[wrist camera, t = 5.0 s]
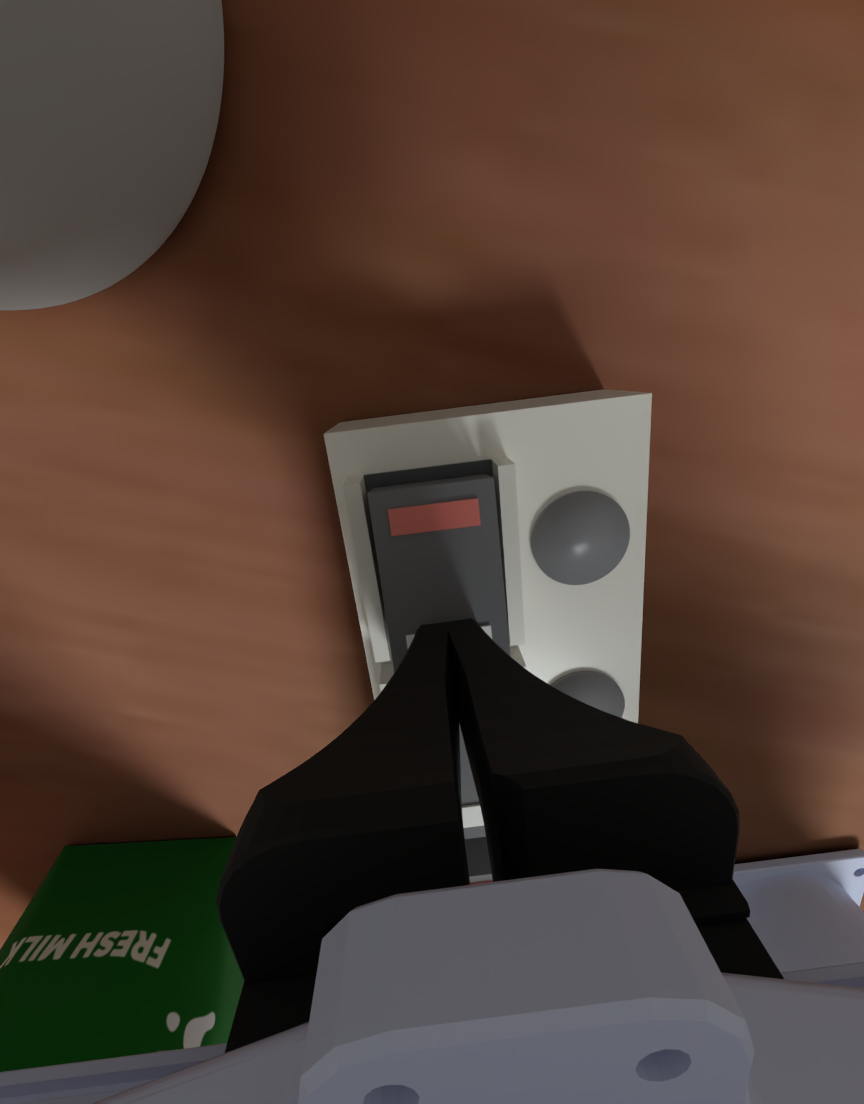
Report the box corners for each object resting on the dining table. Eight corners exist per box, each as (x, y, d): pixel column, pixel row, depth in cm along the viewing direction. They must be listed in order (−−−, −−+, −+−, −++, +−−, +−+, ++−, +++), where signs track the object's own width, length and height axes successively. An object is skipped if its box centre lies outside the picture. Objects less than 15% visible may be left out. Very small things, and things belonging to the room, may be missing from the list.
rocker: (501, 638, 13) (511, 663, 11) (397, 651, 13) (395, 678, 11) (485, 474, 12) (494, 477, 11) (373, 488, 12) (366, 493, 11)
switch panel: (600, 890, 22) (638, 996, 18) (427, 912, 22) (430, 1022, 18) (604, 389, 14) (673, 394, 11) (340, 422, 14) (315, 439, 11)
